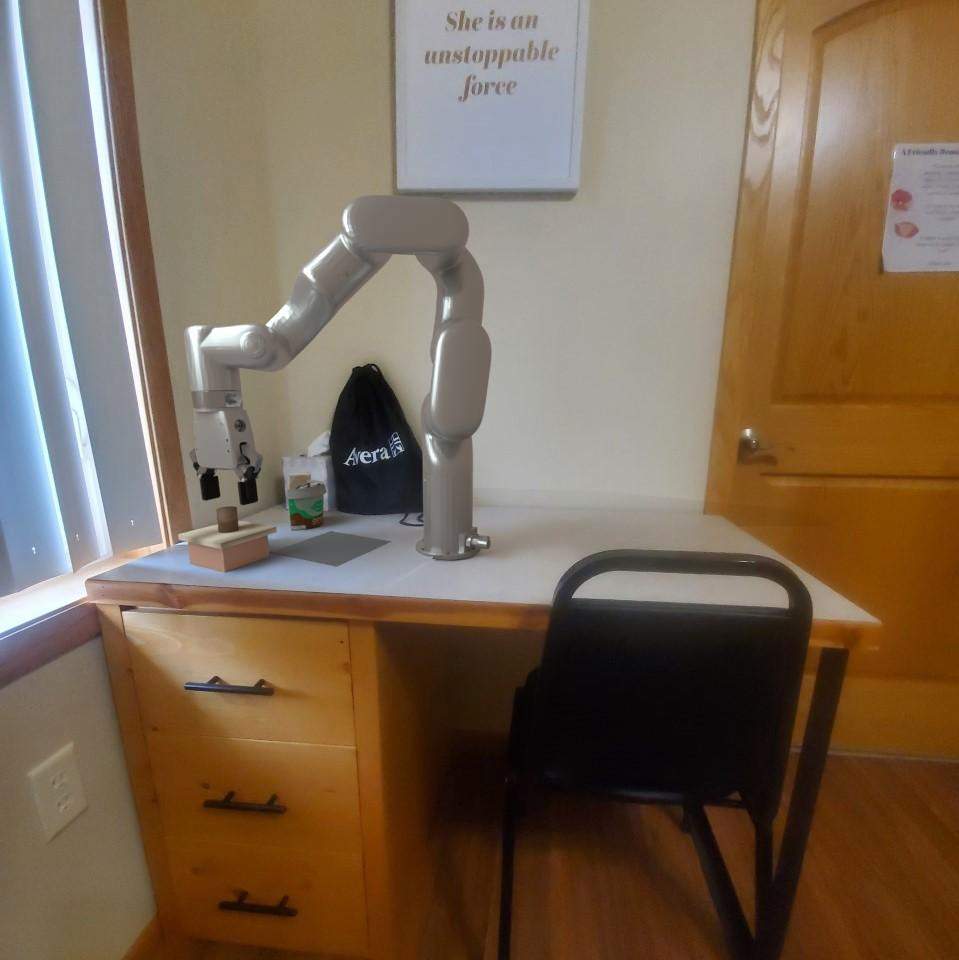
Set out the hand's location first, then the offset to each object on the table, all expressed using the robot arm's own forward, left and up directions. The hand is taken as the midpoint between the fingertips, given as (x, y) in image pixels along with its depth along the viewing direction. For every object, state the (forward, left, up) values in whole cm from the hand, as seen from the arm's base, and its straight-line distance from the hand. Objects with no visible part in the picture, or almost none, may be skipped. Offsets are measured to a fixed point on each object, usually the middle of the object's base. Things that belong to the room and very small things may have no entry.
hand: (230, 501), depth 84 cm
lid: (+1, 0, -6) cm, 6 cm away
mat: (-10, -14, -11) cm, 20 cm away
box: (+14, -29, -12) cm, 34 cm away
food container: (+5, -24, -12) cm, 27 cm away
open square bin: (+1, 0, -11) cm, 11 cm away
